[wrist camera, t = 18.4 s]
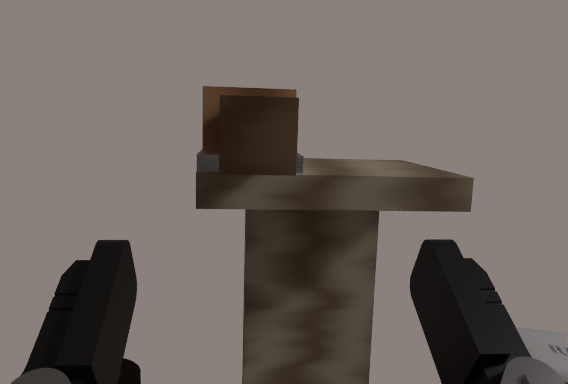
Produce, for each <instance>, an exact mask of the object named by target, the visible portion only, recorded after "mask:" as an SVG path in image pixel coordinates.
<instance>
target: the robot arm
mask: <svg viewBox="0 0 568 384" xmlns="http://www.w3.org/2000/svg"><path fill="white" fill-rule="evenodd" d="M410 292H411V297H412V300H413V303H414V306H415V308H416V311H417V314H418V317H419V320H420V323H421V326H422V328H423V331H424V334H425V337H426V340H427V343H428V345H429V349H430V351H431V354H432V357H433V360H434V363H435V366H436V368H437V371H438V374H439V377H440V380H441V383H442V384H568V382H565V381H563V379H562V378H561V376H560V375H559V374H558V373H557V372H556V371H555V370H554V369H553V368H551V367H550V366H549V365H547V364H546V363H544V362H542V361H540V360H538V359H535V358H532V356H531V355H530V353H529V352H528V350H527V348H526V346H525V344H524V342H523V340H522V338H521V336H520V335H519V333H518V331H517V329H516V327H515V325H514V323H513V321H512V320H511V318H510V316H509V314H508V312H507V310H506V308H505V307H504V305H502V301H501V299H500V297H499V295H498V293H497V292H495V288H494V286H493V284H492V282H491V280H490V278H489V277H488V274H487V272H485V271H484V270H483V269H482V268H481V267H480V266H479V265H478V264H477V263H476V262H475V261H474V260H473V259H472V258H463V256H462V254H461V252H460V250H459V248H458V246H457V244H456V243H455V241H453V240H424V242H423V243H422V245H421V249H420V251H419V254H418V257H417V260H416V262H415V265H414V268H413V271H412V274H411V277H410ZM136 294H137V280H136V273H135V268H134V263H133V257H132V252H131V247H130V243H129V241H128V240H98V241H97V243H96V245H95V248H94V251H93V254H92V257H91V259H90V260H76V261H75V262H74V263H73V264H72V265H71V266H70V267H69V268H68V269H67V271H66V272H65V273H64V274H63V275H62V276H61V279H60V281H59V284H58V286H57V289H56V291H55V297H53V299H52V302H51V304H50V307H49V312H47V314H46V317H45V320H44V322H43V325H42V327H41V330H40V332H39V335H38V337H37V340H36V342H35V345H34V348H33V350H32V353H31V355H30V358H29V361H28V363H27V365H26V368H25V369H24V371H23V373H22V374H21V376H20V377H18V378H17V379H15V380H14V381H13V382H12V383H11V384H118V379H119V374H120V370H121V365H122V361H123V356H124V352H125V347H126V343H127V337H128V333H129V329H130V324H131V320H132V315H133V311H134V306H135V301H136Z"/></svg>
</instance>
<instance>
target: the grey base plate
mask: <svg viewBox="0 0 568 384" xmlns="http://www.w3.org/2000/svg"><path fill="white" fill-rule="evenodd" d="M197 172H219V150H217V149H202V150H201V151H200V152H199V153H198V154H197ZM296 174H303V156H302V155H300V154H298V153H297V166H296Z"/></svg>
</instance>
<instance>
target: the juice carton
mask: <svg viewBox="0 0 568 384" xmlns="http://www.w3.org/2000/svg"><path fill="white" fill-rule="evenodd" d="M516 329H517V331H518V333H519V335H520V336H521V338H522V340H523V342H524V344H525V346H526V348H527V350H528V352H529V353H530V355H531V356H532V358H535V359H538V360H540V361H542V362H544V363H546V364H547V365H549V366H550V367H551V368H553V369H554V370H555V371H556V372H557V373H558V374H559V375H560V376H561V378H562V379H563V381H565V382H568V333H560V332H553V331H545V330H537V329H525V328H516Z"/></svg>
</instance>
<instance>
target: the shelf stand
mask: <svg viewBox="0 0 568 384" xmlns="http://www.w3.org/2000/svg"><path fill="white" fill-rule="evenodd" d="M473 179H474V178H471V177H467V176H463V175H459V174H455V173H451V172H447V171H442V170H439V169H435V168H431V167H427V166H423V165H418V164H414V163H410V162H406V161H401V160H356V159H355V160H354V159H353V160H352V159H311V158H310V159H309V158H303V174H296V176H288V175H234V174H219V172H196V209H245V264H244V265H245V267H244V268H245V269H244V320H243V377H242V378H243V379H242V384H369V369H370V368H369V367H370V353H371V352H370V351H371V337H372V319H373V304H374V287H375V286H374V285H375V271H376V253H377V239H378V221H379V211H454V212H470V211H471V201H472V191H473Z"/></svg>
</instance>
